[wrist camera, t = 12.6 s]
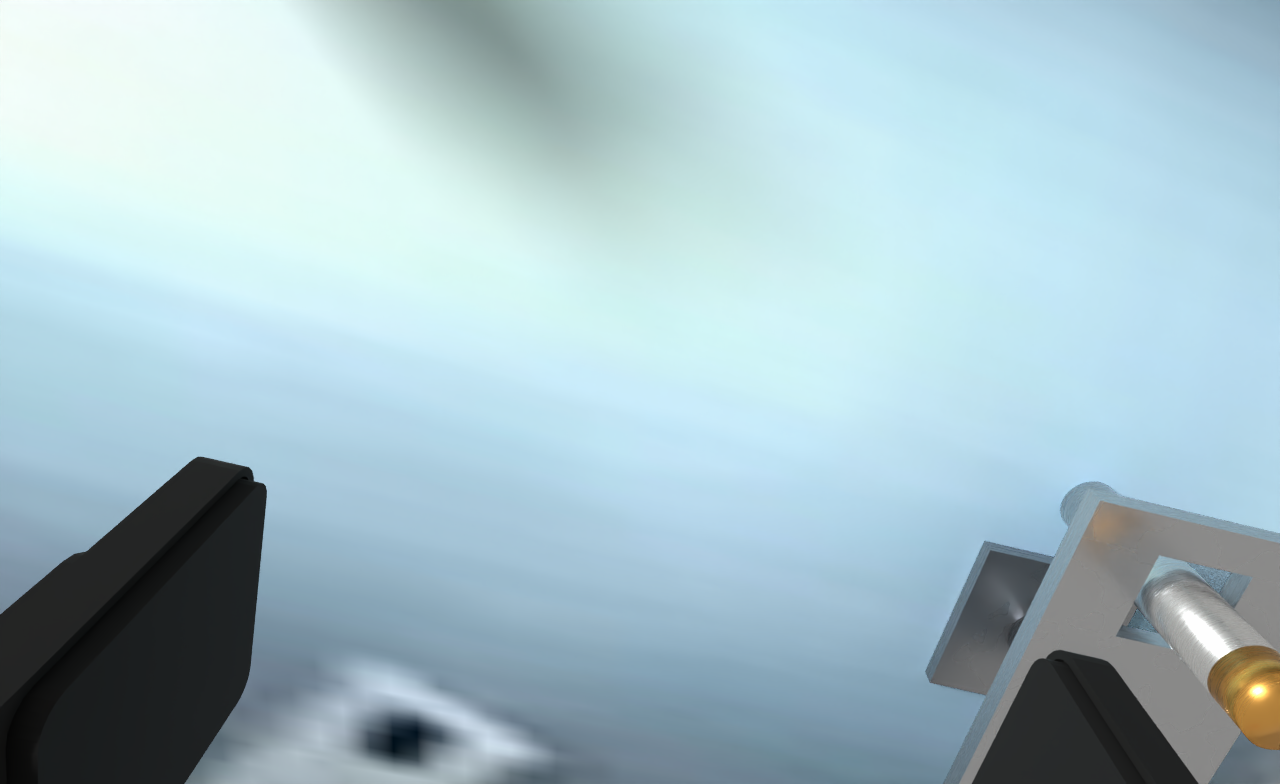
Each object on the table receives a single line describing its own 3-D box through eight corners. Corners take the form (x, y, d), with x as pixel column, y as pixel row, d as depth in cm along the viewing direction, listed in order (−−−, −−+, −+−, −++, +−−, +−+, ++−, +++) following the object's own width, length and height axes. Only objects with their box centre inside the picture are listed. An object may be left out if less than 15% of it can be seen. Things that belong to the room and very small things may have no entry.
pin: (1074, 476, 40) (1267, 677, 27) (1126, 488, 41) (1343, 695, 28) (1051, 523, 41) (1228, 740, 28) (1102, 535, 42) (1302, 756, 29)
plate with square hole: (1017, 415, 39) (1141, 543, 29) (1223, 465, 40) (1414, 607, 30) (869, 751, 47) (927, 948, 36) (1045, 789, 47) (1150, 993, 37)
